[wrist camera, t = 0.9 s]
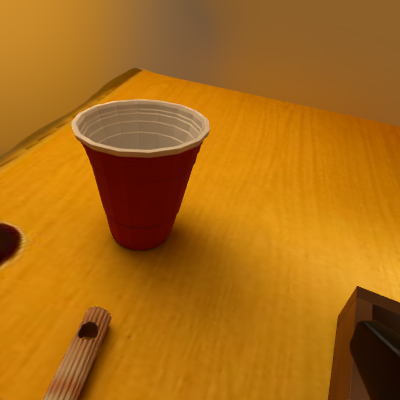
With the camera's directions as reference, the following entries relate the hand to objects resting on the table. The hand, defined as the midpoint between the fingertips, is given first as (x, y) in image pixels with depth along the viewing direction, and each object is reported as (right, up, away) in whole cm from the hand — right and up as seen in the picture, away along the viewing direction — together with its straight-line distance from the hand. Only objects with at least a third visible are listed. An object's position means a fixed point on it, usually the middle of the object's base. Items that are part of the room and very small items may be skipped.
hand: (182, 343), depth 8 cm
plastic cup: (-6, 0, +26) cm, 27 cm away
